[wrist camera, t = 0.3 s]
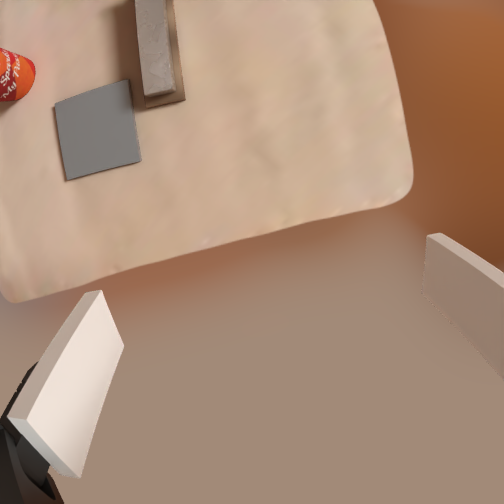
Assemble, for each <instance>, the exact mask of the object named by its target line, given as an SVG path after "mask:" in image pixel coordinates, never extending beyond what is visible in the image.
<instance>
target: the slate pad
mask: <svg viewBox="0 0 504 504" xmlns="http://www.w3.org/2000/svg"><path fill="white" fill-rule="evenodd" d="M55 111H56V119H57V126H58V133H59V139H60V145H61V151H62V157H63V162H64V167H65V172H66V177H67V180H70V179H73V178H76V177H80V176H84V175H87V174H91V173H95V172H98V171H102V170H106V169H110V168H114V167H118V166H122V165H126V164H130V163H135V162H139V161H142V159H141V154H140V148H139V142H138V136H137V130H136V124H135V117H134V110H133V103H132V96H131V88H130V80H128V79H126V80H123V81H119V82H116V83H113V84H109V85H106V86H103V87H100V88H97V89H94V90H91V91H88V92H85V93H82V94H79V95H76V96H73V97H71V98H68V99H65V100H63V101H60V102H58V103H55Z"/></svg>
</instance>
